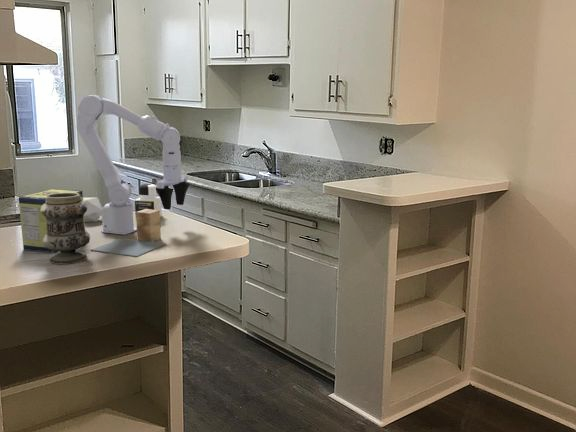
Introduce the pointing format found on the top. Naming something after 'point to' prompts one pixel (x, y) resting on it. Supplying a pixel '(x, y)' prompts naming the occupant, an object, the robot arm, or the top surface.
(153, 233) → the oak block
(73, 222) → the apothecary jar
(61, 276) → the top surface
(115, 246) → the slate mat
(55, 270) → the top surface
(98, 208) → the die
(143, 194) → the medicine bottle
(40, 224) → the protein box
